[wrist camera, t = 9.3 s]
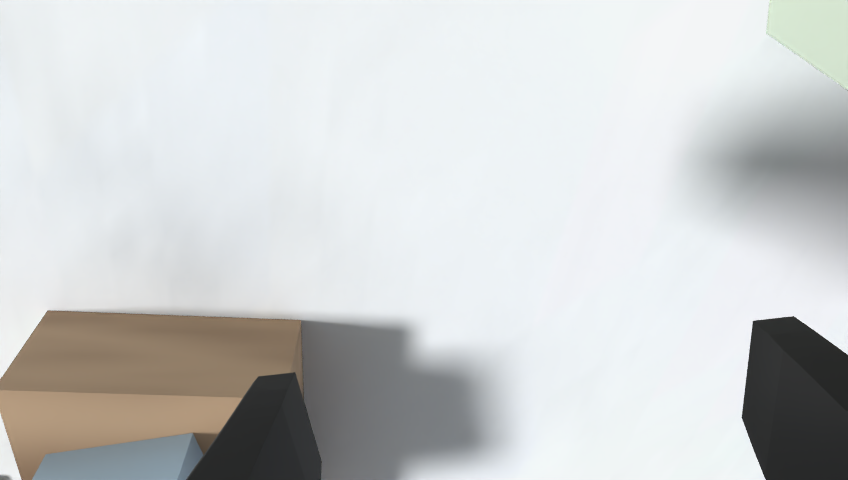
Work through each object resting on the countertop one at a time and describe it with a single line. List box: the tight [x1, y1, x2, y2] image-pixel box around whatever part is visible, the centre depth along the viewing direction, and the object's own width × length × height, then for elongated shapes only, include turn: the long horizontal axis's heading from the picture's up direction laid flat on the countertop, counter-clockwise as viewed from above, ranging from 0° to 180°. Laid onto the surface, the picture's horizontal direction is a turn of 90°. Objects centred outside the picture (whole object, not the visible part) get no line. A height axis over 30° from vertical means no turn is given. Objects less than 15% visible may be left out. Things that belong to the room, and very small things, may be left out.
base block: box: [0, 311, 304, 480], centre depth 25 cm, size 8×8×4 cm
